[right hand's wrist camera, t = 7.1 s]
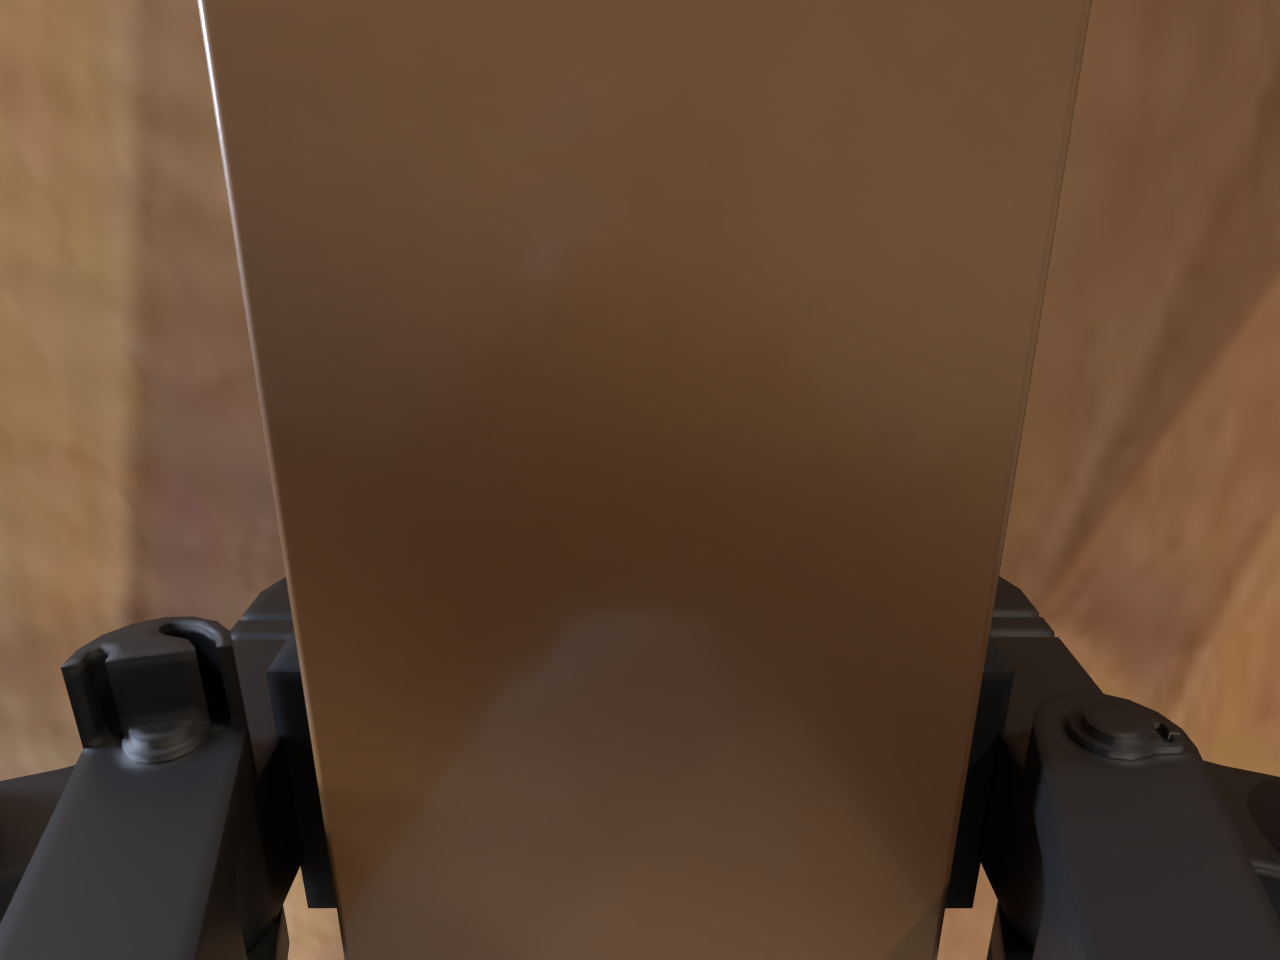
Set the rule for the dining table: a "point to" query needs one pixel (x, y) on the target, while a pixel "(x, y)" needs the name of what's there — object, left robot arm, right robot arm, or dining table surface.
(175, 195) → the dining table surface
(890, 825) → the post
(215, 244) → the dining table surface
